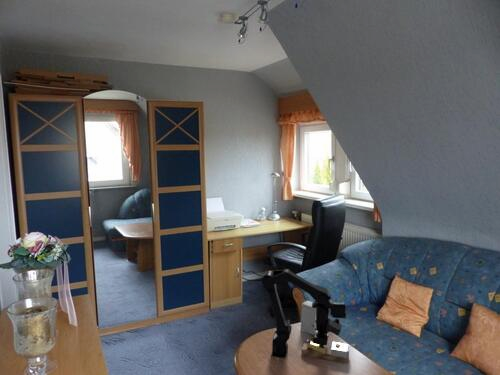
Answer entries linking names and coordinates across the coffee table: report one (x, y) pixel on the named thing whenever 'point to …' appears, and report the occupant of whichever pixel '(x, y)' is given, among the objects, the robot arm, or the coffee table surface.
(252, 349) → the coffee table surface
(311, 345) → the lever
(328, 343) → the felt pad
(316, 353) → the body
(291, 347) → the coffee table surface
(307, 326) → the skincare box
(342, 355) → the grey squarish block
